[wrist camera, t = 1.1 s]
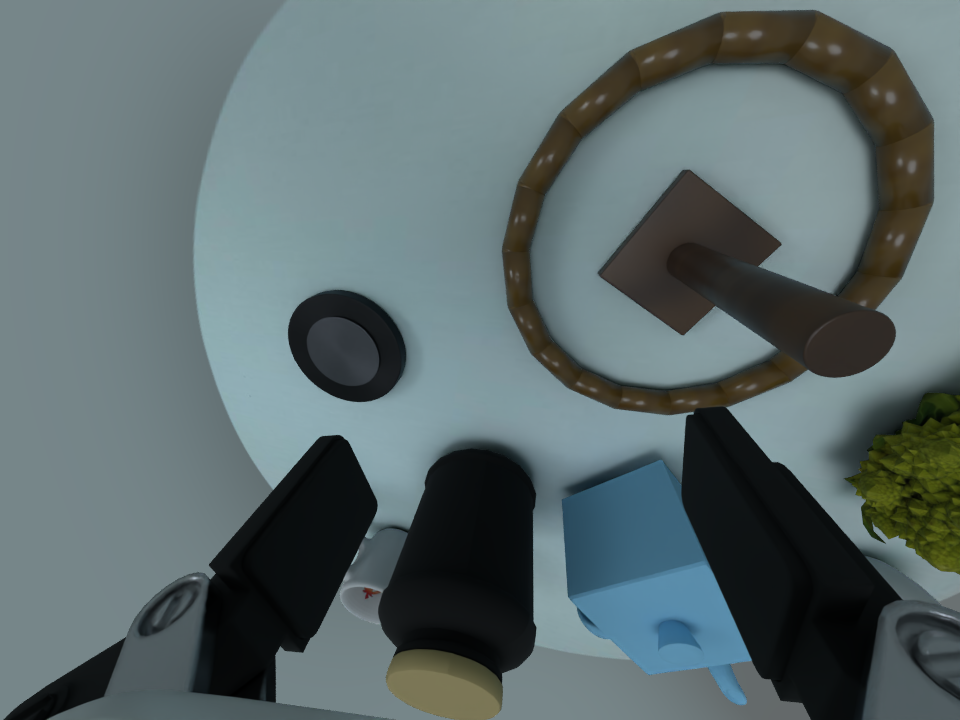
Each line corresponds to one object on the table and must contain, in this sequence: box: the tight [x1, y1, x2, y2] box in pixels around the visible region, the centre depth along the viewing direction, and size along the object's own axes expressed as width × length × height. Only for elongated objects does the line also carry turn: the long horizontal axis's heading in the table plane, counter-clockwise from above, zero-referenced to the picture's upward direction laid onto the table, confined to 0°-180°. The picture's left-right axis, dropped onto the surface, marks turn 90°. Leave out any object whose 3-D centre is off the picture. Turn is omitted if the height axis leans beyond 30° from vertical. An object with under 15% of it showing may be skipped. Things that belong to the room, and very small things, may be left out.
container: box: [378, 449, 536, 720], centre depth 29 cm, size 12×12×18 cm
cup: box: [339, 528, 408, 625], centre depth 41 cm, size 11×8×8 cm
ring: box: [502, 10, 934, 415], centre depth 23 cm, size 25×25×2 cm
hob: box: [288, 290, 406, 402], centre depth 31 cm, size 11×11×1 cm
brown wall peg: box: [598, 170, 896, 378], centre depth 17 cm, size 8×8×15 cm
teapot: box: [562, 460, 752, 705], centre depth 30 cm, size 18×16×13 cm
